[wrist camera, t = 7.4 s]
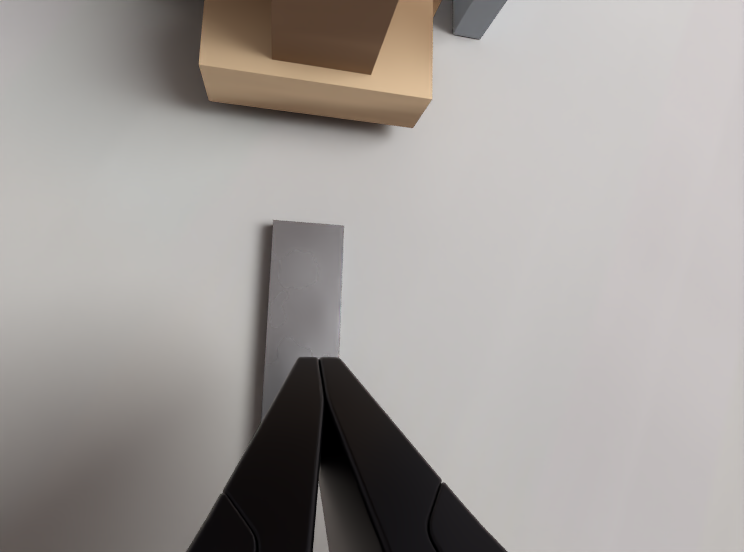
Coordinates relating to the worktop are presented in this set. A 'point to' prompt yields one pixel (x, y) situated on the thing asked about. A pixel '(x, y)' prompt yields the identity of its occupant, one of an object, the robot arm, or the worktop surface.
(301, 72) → the tan wooden stepped block
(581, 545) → the worktop surface
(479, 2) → the grey angular block
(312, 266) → the rail
